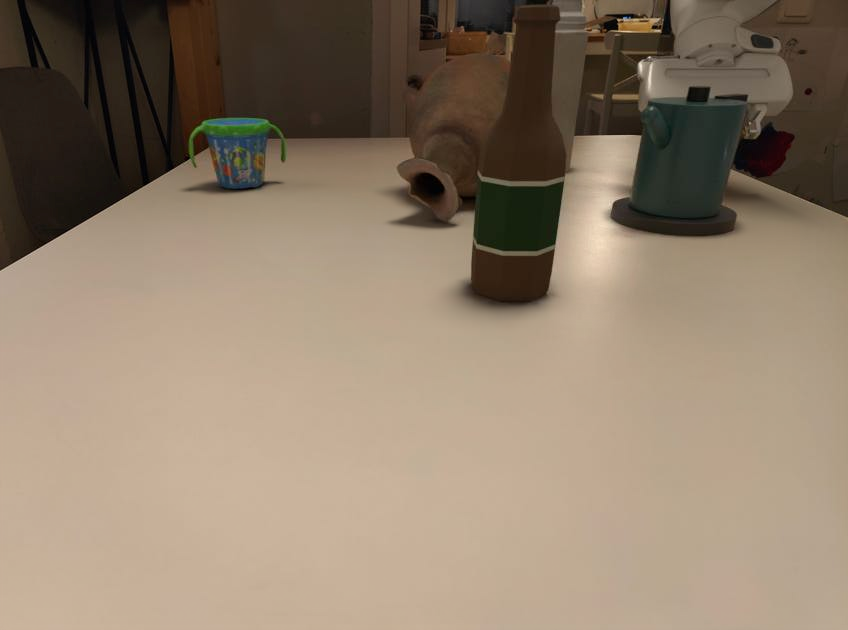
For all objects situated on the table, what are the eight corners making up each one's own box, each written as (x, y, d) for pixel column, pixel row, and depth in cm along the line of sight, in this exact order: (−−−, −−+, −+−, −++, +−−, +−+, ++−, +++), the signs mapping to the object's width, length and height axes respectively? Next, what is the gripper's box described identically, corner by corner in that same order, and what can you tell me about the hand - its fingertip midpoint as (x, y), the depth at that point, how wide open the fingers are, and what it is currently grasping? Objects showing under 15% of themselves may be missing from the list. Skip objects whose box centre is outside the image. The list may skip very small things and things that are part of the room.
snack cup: (285, 176, 109) (280, 115, 104) (292, 189, 100) (288, 122, 95) (194, 181, 106) (185, 118, 101) (193, 195, 97) (184, 126, 92)
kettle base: (709, 207, 87) (712, 196, 87) (753, 237, 74) (757, 225, 74) (600, 204, 89) (602, 194, 88) (624, 233, 76) (626, 221, 75)
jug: (453, 175, 109) (372, 248, 88) (429, 56, 99) (331, 108, 79) (569, 161, 97) (507, 241, 77) (555, 25, 88) (479, 77, 68)
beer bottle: (555, 281, 62) (594, 5, 50) (540, 308, 55) (581, 1, 44) (480, 270, 65) (501, 8, 53) (458, 296, 58) (476, 4, 47)
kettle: (684, 189, 90) (709, 80, 83) (760, 204, 82) (794, 85, 75) (589, 209, 80) (608, 88, 74) (665, 228, 72) (694, 94, 65)
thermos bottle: (515, 168, 113) (533, -8, 100) (542, 163, 118) (562, -6, 105) (552, 175, 108) (575, -10, 95) (578, 169, 112) (604, -9, 99)
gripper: (643, 40, 89) (649, 120, 85) (792, 39, 87) (806, 121, 83) (628, 72, 95) (634, 149, 91) (768, 72, 93) (779, 150, 89)
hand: (717, 136), depth 87 cm, fingers open, 8 cm apart
